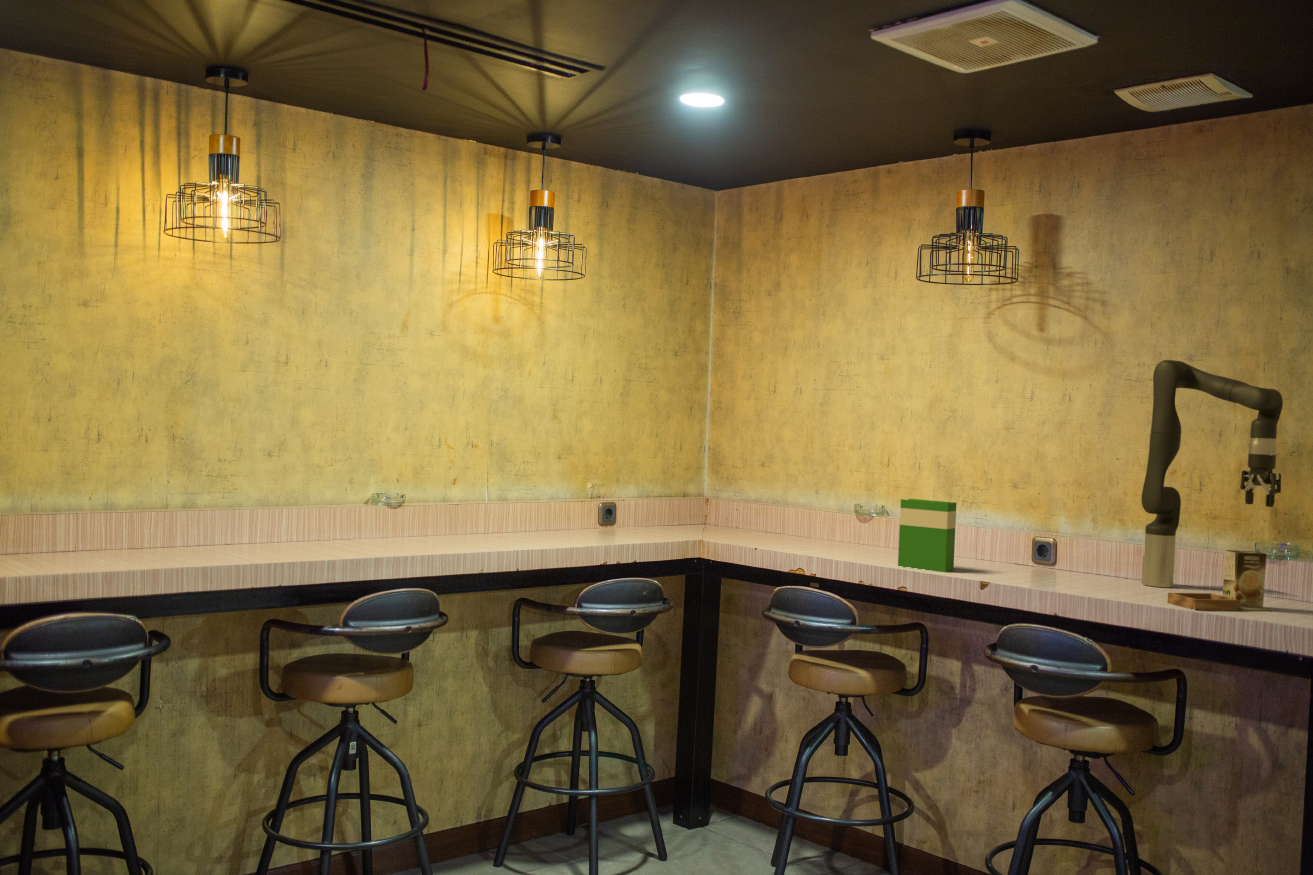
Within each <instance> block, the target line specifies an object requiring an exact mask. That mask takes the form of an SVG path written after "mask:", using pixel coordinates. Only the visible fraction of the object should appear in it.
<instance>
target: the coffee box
mask: <svg viewBox="0 0 1313 875" xmlns="http://www.w3.org/2000/svg"><path fill="white" fill-rule="evenodd" d="M1266 563H1267V553H1264V552H1259V551H1250V550H1233V549H1225V554H1224V566H1223V567H1224V568H1223V583H1222V584H1223V585H1222V586H1223V587H1222V596H1224V597H1228V598H1232V599H1236V600H1240V606H1241V607H1264V596H1265V583H1266V582H1265V579H1266V566H1267V564H1266Z"/></svg>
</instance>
